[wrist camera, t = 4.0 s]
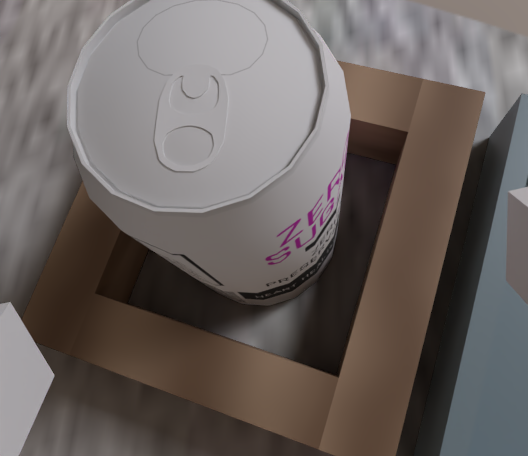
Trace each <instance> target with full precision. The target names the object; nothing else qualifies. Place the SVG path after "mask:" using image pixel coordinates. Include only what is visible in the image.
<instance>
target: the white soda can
mask: <svg viewBox="0 0 528 456" xmlns="http://www.w3.org/2000/svg"><path fill="white" fill-rule="evenodd" d="M350 120H351V113H350V107H349V101H348V95H347V90H346V84H345V78H344V72H343V70H342V68H341V67H340V65H339V64H338V62H337V61H336V59H335V57H334V56H333V54H332V53H331V51H330V50H329V48H328V47H327V45H326V43H325V42H324V40H323V39H322V37H321V36H320V34H319V33H317V32H316V31H315V30H314V29H313V28H312V27H311V25H310V24H309V22H308V21H307V19H306V18H305V16H304V14H303V13H302V11H301V10H300V9H298V8H297V7H295V6H294V5H293V4H291V3H290V2H288V1H287V0H130V1H129V2H127V3H126V4H125V5H123V6H122V7H120V8H119V9H117V10H116V11H114V12H113V13H111V14H110V15H109V16H108V17H107V18H106V19H105V21H104V22H103V23H102V24H101V26H100V27H99V28H98V29H97V30H96V32H95V33H94V34H93V35H92V37H91V38H90V39H89V40H88V41H87V43H86V44H85V45H84V46H83V48H82V50H81V53H80V55H79V58H78V60H77V63H76V66H75V68H74V71H73V73H72V76H71V78H70V81H69V84H68V92H67V128H68V130H69V133H70V135H71V138H72V140H73V156H74V160H75V162H76V165H77V167H78V170H79V172H80V175H81V178H82V180H83V183H84V185H85V188H86V190H87V193H88V195H89V198H90V199H91V200H92V201H93V202H94V203H95V204H96V205H97V206H98V207H99V208H100V209H101V210H102V211H103V212H104V213H105V214H106V215H107V216H108V217H109V218H110V219H111V220H112V221H113V222H114V223H115V225H116V226H117V227H118V228H119V229H120V230H121V231H123V232H124V233H126V234H128V235H129V236H131V237H132V238H134V239H135V240H137V241H138V242H140V243H141V244H143V245H144V246H146V247H147V248H149V249H151V250H152V251H154V252H155V253H157V254H158V255H160V256H161V257H163V258H164V259H166V260H167V261H169V262H171V263H172V264H174V265H175V266H177V267H178V268H180V269H181V270H183V271H184V272H186V273H187V274H189V275H191V276H192V277H194V278H195V279H197V280H198V281H200V282H201V283H203V284H204V285H206V286H207V287H209V288H211V289H212V290H214V291H215V292H217V293H218V294H221V295H223V296H225V297H227V298H230V299H232V300H234V301H236V302H239V303H241V304H251V305H268V306H269V305H272V304H276V303H279V302H282V301H286V300H289V299H292V298H295V297H297V296H298V295H299V294H301V293H302V292H303V291H305V290H306V289H307V288H309V287H310V286H311V285H313V284H314V283H315V282H317V281H318V279H319V277H320V276H321V274H322V273H323V271H324V270H325V268H326V267H327V265H328V264H329V262H330V260H331V259H332V255H333V250H334V246H335V241H336V237H337V231H338V222H339V214H340V205H341V197H342V188H343V180H344V171H345V162H346V154H347V145H348V137H349V128H350Z"/></svg>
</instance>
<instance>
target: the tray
mask: <svg viewBox="0 0 528 456" xmlns="http://www.w3.org/2000/svg"><path fill="white" fill-rule="evenodd" d="M525 187H528V95H526V94H521V95H520V97H519V98H518V99H517V101H516V102H515V103H514V105H513V106H512V107H511V109H510V110H509V111H508V113H507V114H506V115H505V117H504V118H503V120H502V121H501V122H500V124H499V125H498V126H497V128H496V129H495V130H494V132H493V133H492V134H491V136H490V137H489V142H488V146H487V150H486V154H485V158H484V163H483V167H482V171H481V175H480V179H479V183H478V188H477V192H476V196H475V200H474V204H473V209H472V213H471V217H470V221H469V225H468V229H467V234H466V238H465V242H464V246H463V250H462V255H461V259H460V263H459V267H458V271H457V275H456V280H455V284H454V288H453V292H452V296H451V301H450V305H449V309H448V313H447V317H446V321H445V326H444V330H443V334H442V338H441V342H440V347H439V351H438V355H437V359H436V363H435V368H434V372H433V376H432V380H431V384H430V388H429V393H428V397H427V401H426V405H425V409H424V414H423V418H422V422H421V426H420V430H419V434H418V439H417V443H416V447H415V451H414V455H413V456H528V305H527V304H526V303H525V301H524V300H523V299H522V298H521V297H520V296H519V295H518V293H517V292H516V291H515V290H514V289H513V288H512V287H511V286H510V284H509V283H508V282H507V281H506V252H507V211H508V191H511V190H516V189H520V188H525Z"/></svg>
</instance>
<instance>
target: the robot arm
mask: <svg viewBox="0 0 528 456" xmlns="http://www.w3.org/2000/svg"><path fill="white" fill-rule="evenodd" d="M506 281H507V282H508V283H509V284H510V286H511V287H512V288H513V289H514V290H515V291H516V292H517V293H518V295H519V296H520V297H521V298H522V299H523V300H524V301H525V303H526V304H527V305H528V187H525V188H520V189H516V190H511V191H508V211H507V252H506ZM54 376H55V375H54V374H53V372H52V370H51V369H50V367H49V365H48V364H47V362H46V360H45V359H44V357H43V355H42V354H41V352H40V350H39V349H38V347H37V345H36V344H35V342H34V340H33V339H32V337H31V335H30V334H29V332H28V330H27V329H26V327H25V325H24V324H23V322H22V321H21V319H20V317H19V316H18V314H17V312H16V311H15V309H14V307H13V306H12V304H11V302H7V303H3V304H0V456H19V454H20V452H21V450H22V447H23V445H24V443H25V441H26V438H27V436H28V434H29V432H30V430H31V427H32V425H33V423H34V421H35V418H36V416H37V414H38V412H39V409H40V407H41V405H42V403H43V401H44V398H45V396H46V394H47V392H48V389H49V387H50V385H51V383H52V381H53V378H54Z"/></svg>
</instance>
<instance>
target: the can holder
mask: <svg viewBox="0 0 528 456" xmlns="http://www.w3.org/2000/svg"><path fill="white" fill-rule="evenodd" d="M336 61H337V60H336ZM337 62H338V64H339V65H340V67H341V68H342V70H343V72H344V78H345V84H346V90H347V95H348V101H349V107H350V113H351V120H350V128H349V137H348V145H347V152H348V153H352V154H356V155H360V156H364V157H368V158H372V159H376V160H380V161H384V162H388V163H392V164H396V167H395V170H394V174H393V177H392V181H391V184H390V188H389V191H388V195H387V198H386V202H385V205H384V209H383V213H382V216H381V220H380V223H379V227H378V230H377V234H376V237H375V241H374V244H373V248H372V251H371V255H370V258H369V262H368V265H367V269H366V272H365V276H364V279H363V283H362V286H361V290H360V294H359V297H358V301H357V304H356V308H355V311H354V315H353V318H352V322H351V325H350V329H349V332H348V336H347V339H346V343H345V346H344V350H343V353H342V357H341V360H340V364H339V367H338V371H337V374H336V375H334V374H331V373H328V372H325V371H323V370H320V369H317V368H314V367H311V366H308V365H305V364H302V363H299V362H296V361H294V360H291V359H288V358H285V357H282V356H279V355H276V354H273V353H270V352H267V351H265V350H262V349H259V348H256V347H253V346H250V345H247V344H244V343H241V342H238V341H236V340H233V339H230V338H227V337H224V336H221V335H218V334H215V333H212V332H209V331H207V330H204V329H201V328H198V327H195V326H192V325H189V324H186V323H183V322H181V321H178V320H175V319H172V318H169V317H166V316H163V315H160V314H157V313H154V312H152V311H149V310H146V309H143V308H140V307H137V306H134V305H131V304H128V300H129V298H130V295H131V293H132V290H133V288H134V285H135V283H136V280H137V278H138V275H139V272H140V270H141V267H142V265H143V262H144V260H145V257H146V255H147V252H148V250H149V248H147V247H146V246H144V245H143V244H141V243H140V242H138V241H137V240H135V239H134V238H132V237H131V236H129V235H128V234H126V233H124V232H123V231H121V230H120V229H119V228H118V227H117V226H116V225H115V223H114V222H113V221H112V220H111V219H110V218H109V217H108V216H107V215H106V214H105V213H104V212H103V211H102V210H101V209H100V208H99V207H98V206H97V205H96V204H95V203H94V202H93V201H92V200H91V199H90V198H89V195H88V193H87V190H86V188H85V185H84V183H83V181H82V183H81V186H80V188H79V190H78V192H77V195H76V197H75V199H74V202H73V204H72V206H71V208H70V211H69V213H68V215H67V217H66V220H65V222H64V224H63V226H62V229H61V231H60V233H59V235H58V238H57V240H56V242H55V244H54V247H53V249H52V251H51V253H50V256H49V258H48V260H47V263H46V265H45V267H44V269H43V272H42V274H41V276H40V278H39V281H38V283H37V285H36V287H35V290H34V292H33V294H32V296H31V299H30V301H29V303H28V305H27V308H26V310H25V312H24V314H23V317H22V319H21V321H22V322H23V324H24V325H25V327H26V329H27V330H28V332H29V334H30V335H31V337H32V339H33V340H34V342H36V343H39V344H41V345H44V346H46V347H49V348H52V349H54V350H57V351H60V352H62V353H65V354H68V355H70V356H73V357H75V358H78V359H81V360H83V361H86V362H89V363H91V364H94V365H97V366H99V367H102V368H105V369H107V370H110V371H112V372H115V373H118V374H120V375H123V376H126V377H128V378H131V379H134V380H136V381H139V382H141V383H144V384H147V385H149V386H152V387H155V388H157V389H160V390H163V391H165V392H168V393H170V394H173V395H176V396H178V397H181V398H184V399H186V400H189V401H192V402H194V403H197V404H200V405H202V406H205V407H207V408H210V409H213V410H215V411H218V412H221V413H223V414H226V415H229V416H231V417H234V418H236V419H239V420H242V421H244V422H247V423H250V424H252V425H255V426H258V427H260V428H263V429H265V430H268V431H271V432H273V433H276V434H279V435H281V436H284V437H287V438H289V439H292V440H294V441H297V442H300V443H302V444H305V445H308V446H310V447H313V448H316V449H318V450H321V451H324V452H326V453H329V454H331V455H334V456H396V452H397V448H398V444H399V440H400V436H401V432H402V428H403V424H404V420H405V416H406V412H407V408H408V404H409V400H410V396H411V391H412V387H413V383H414V379H415V375H416V371H417V367H418V363H419V359H420V355H421V351H422V347H423V343H424V339H425V335H426V331H427V327H428V323H429V319H430V315H431V311H432V306H433V302H434V298H435V294H436V290H437V286H438V282H439V278H440V274H441V270H442V266H443V262H444V258H445V254H446V250H447V246H448V242H449V238H450V234H451V230H452V226H453V221H454V217H455V213H456V209H457V205H458V201H459V197H460V193H461V189H462V185H463V181H464V177H465V173H466V169H467V165H468V161H469V157H470V153H471V149H472V145H473V141H474V136H475V132H476V128H477V124H478V120H479V116H480V112H481V108H482V104H483V100H484V96H485V92H482V91H477V90H473V89H468V88H463V87H458V86H454V85H449V84H444V83H440V82H435V81H430V80H426V79H421V78H416V77H412V76H407V75H402V74H398V73H393V72H388V71H384V70H379V69H374V68H369V67H365V66H360V65H355V64H351V63H346V62H341V61H337Z"/></svg>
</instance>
